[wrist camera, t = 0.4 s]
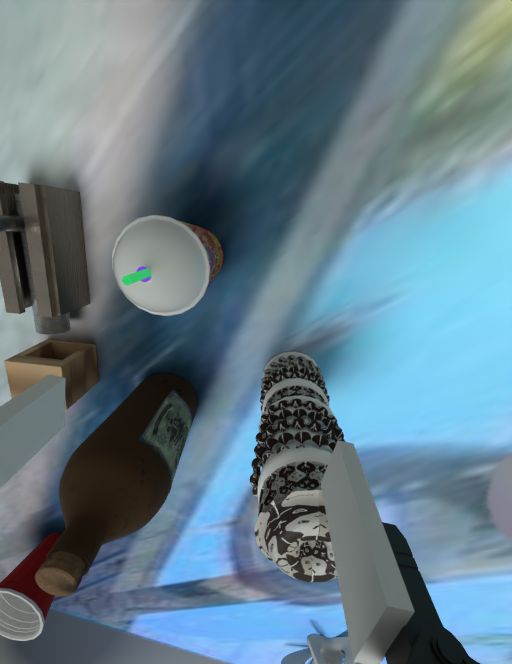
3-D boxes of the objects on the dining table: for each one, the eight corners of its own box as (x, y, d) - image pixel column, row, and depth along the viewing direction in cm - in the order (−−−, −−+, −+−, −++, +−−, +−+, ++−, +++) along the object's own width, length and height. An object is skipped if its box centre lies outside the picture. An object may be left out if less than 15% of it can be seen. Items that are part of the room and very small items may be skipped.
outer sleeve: (28, 187, 37) (-24, 178, 30) (79, 192, 37) (38, 184, 30) (44, 298, 41) (2, 311, 35) (89, 303, 41) (56, 317, 35)
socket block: (47, 339, 43) (4, 360, 36) (95, 344, 43) (61, 367, 36) (53, 376, 45) (12, 403, 38) (99, 381, 45) (66, 409, 38)
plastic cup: (58, 513, 55) (2, 587, 44) (99, 549, 57) (57, 628, 46) (20, 535, 57) (-42, 611, 46) (61, 569, 60) (12, 648, 49)
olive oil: (150, 436, 48) (33, 636, 25) (121, 379, 45) (-46, 546, 21) (212, 420, 46) (150, 618, 23) (186, 360, 43) (82, 517, 20)
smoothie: (228, 290, 40) (188, 347, 21) (165, 283, 40) (69, 333, 21) (233, 223, 37) (192, 219, 18) (166, 216, 37) (55, 204, 18)
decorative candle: (261, 346, 42) (246, 497, 18) (327, 351, 42) (398, 510, 18) (257, 402, 45) (240, 595, 21) (319, 407, 45) (371, 607, 21)
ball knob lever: (31, 196, 36) (-87, 180, 24) (63, 199, 36) (-40, 184, 24) (49, 323, 41) (-40, 361, 29) (77, 326, 41) (-2, 365, 29)
